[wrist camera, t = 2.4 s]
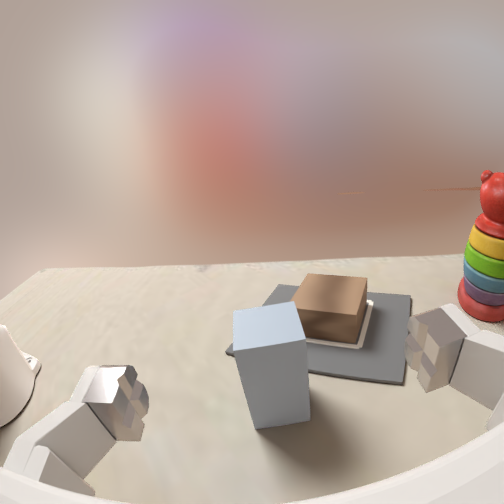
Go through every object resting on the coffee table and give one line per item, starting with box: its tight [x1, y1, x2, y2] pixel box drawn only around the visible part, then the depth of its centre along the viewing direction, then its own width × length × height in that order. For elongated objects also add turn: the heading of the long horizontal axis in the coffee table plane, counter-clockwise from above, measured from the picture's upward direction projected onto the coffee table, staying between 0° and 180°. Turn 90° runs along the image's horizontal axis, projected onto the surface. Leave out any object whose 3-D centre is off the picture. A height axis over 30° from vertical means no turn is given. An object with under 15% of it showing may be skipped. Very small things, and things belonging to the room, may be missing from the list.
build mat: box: [225, 284, 411, 385], centre depth 36 cm, size 20×16×1 cm
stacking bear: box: [458, 170, 504, 322], centre depth 28 cm, size 11×10×18 cm
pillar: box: [233, 301, 311, 429], centre depth 24 cm, size 5×5×10 cm
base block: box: [290, 274, 367, 343], centre depth 36 cm, size 8×8×4 cm
